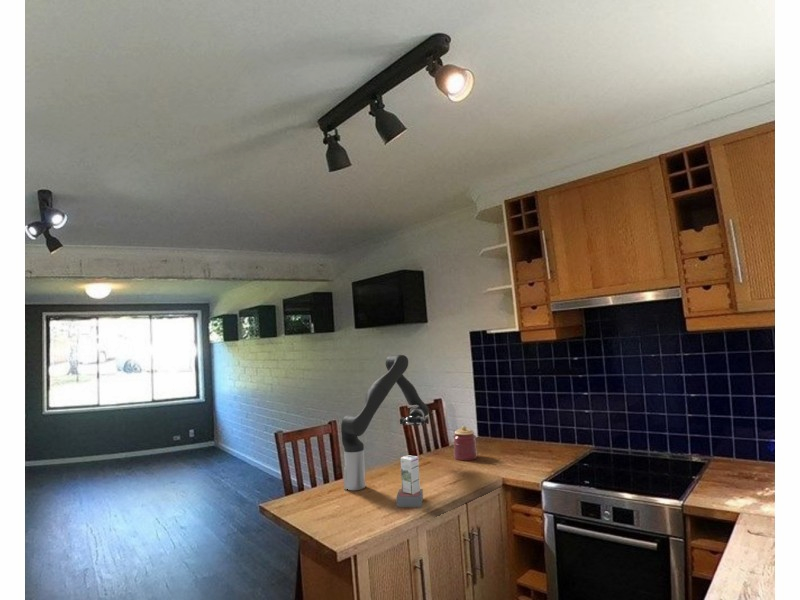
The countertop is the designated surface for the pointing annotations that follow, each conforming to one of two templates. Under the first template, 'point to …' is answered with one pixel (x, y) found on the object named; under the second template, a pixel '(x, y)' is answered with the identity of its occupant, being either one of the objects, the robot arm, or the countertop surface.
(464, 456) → the canister
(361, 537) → the countertop surface
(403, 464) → the syrup box
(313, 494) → the countertop surface
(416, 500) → the display plinth
